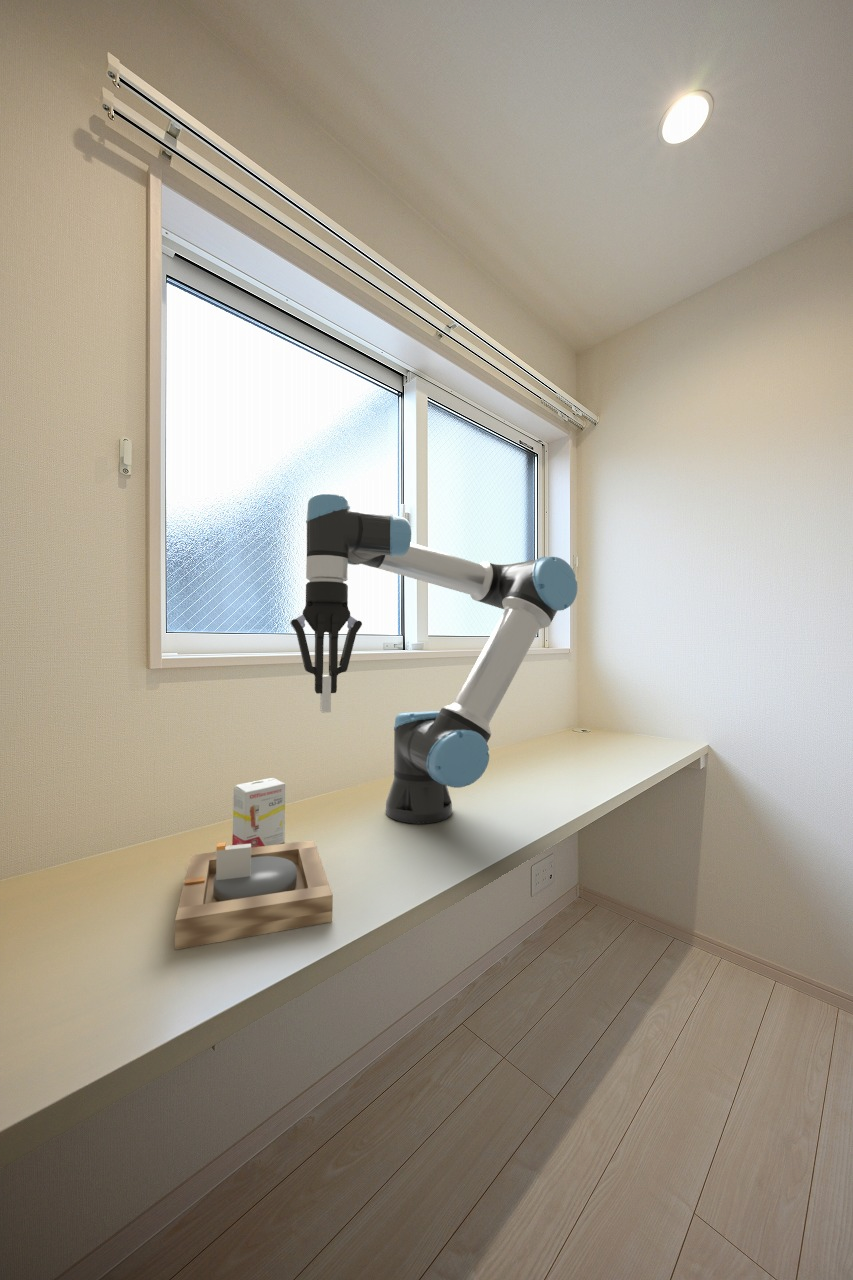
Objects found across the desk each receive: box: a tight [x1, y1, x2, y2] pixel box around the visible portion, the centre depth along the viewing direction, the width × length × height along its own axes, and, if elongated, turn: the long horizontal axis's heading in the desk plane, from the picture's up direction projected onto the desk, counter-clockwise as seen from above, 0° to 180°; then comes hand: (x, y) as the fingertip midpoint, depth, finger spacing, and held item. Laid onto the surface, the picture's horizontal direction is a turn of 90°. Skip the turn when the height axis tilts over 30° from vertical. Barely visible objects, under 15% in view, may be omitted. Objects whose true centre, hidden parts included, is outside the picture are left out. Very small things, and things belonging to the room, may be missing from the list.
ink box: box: [231, 777, 286, 848], centre depth 96 cm, size 9×5×12 cm, turn 137°
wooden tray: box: [174, 839, 334, 951], centre depth 77 cm, size 20×20×4 cm
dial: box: [213, 841, 297, 902], centre depth 77 cm, size 12×12×7 cm
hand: (325, 711), depth 92 cm, fingers closed
